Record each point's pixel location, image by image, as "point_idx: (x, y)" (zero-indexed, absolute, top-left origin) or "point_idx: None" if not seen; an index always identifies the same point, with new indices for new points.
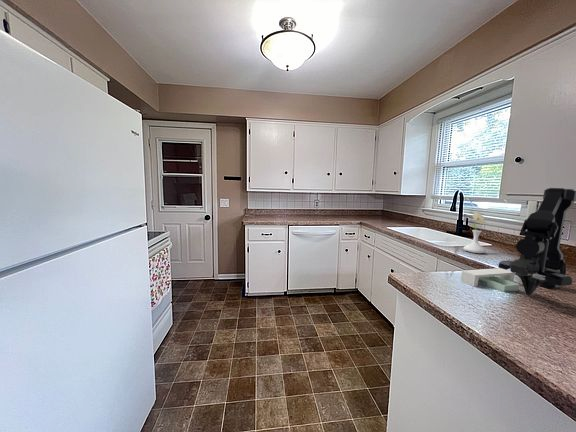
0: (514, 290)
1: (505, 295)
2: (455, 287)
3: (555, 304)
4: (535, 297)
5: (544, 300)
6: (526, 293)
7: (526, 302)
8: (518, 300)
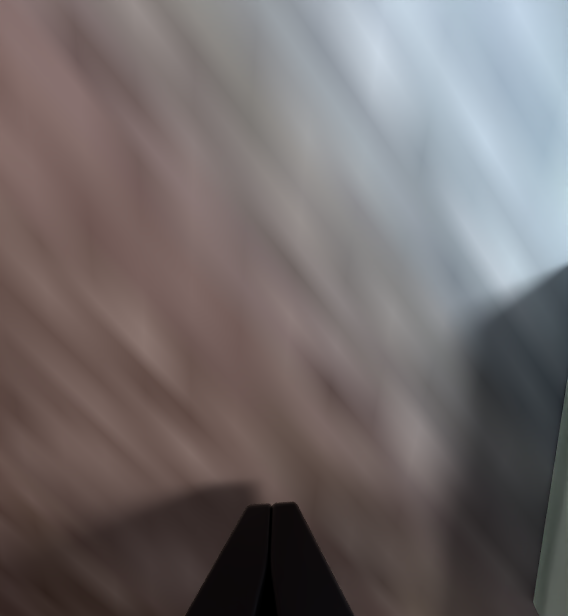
0: (549, 529)
1: (428, 64)
2: None
3: (7, 608)
4: None
5: (145, 601)
6: (284, 514)
7: (24, 191)
8: (125, 100)
